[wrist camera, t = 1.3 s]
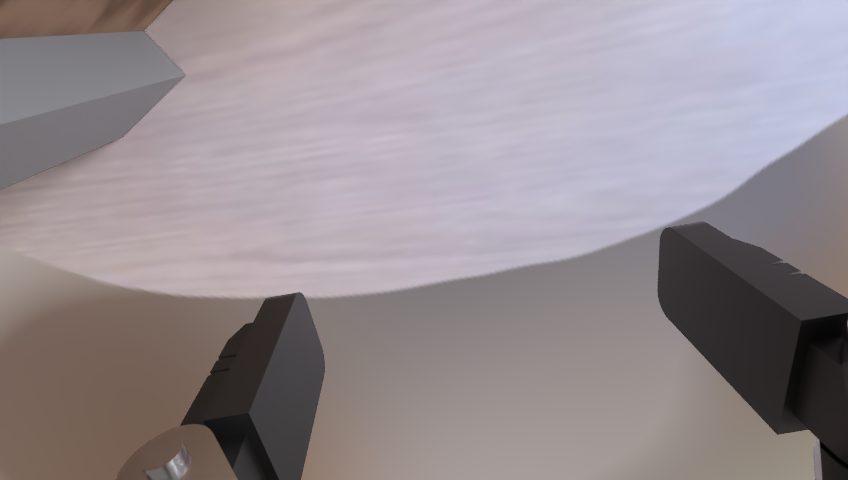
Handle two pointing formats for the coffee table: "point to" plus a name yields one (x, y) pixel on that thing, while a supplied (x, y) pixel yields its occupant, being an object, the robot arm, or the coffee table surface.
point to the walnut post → (76, 16)
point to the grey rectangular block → (74, 95)
